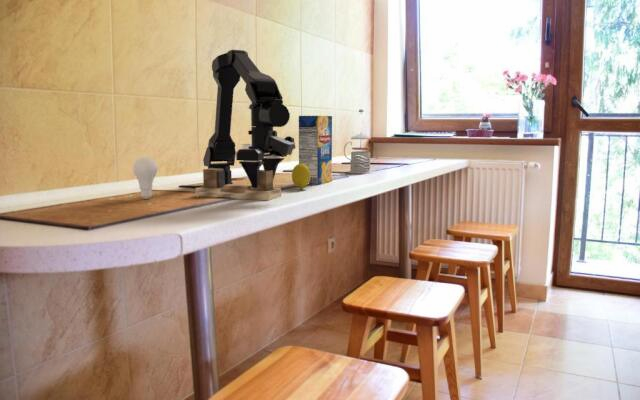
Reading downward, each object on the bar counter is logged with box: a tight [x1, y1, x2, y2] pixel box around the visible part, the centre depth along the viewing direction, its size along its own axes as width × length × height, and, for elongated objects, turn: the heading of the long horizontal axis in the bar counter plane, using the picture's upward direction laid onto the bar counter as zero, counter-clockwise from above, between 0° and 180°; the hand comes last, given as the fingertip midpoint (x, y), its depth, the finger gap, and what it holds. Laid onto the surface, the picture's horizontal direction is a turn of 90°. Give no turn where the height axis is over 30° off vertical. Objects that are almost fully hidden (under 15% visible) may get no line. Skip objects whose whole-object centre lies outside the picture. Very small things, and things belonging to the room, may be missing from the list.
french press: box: [343, 108, 373, 175], centre depth 218 cm, size 10×12×25 cm
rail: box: [194, 168, 282, 201], centre depth 148 cm, size 22×8×7 cm, turn 70°
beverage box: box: [298, 115, 333, 186], centre depth 181 cm, size 7×11×22 cm, turn 154°
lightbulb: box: [132, 156, 158, 200], centre depth 143 cm, size 6×6×11 cm
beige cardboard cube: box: [250, 169, 274, 191], centre depth 146 cm, size 5×4×6 cm
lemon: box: [291, 162, 310, 190], centre depth 164 cm, size 6×6×8 cm
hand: (263, 185), depth 146 cm, fingers open, 9 cm apart
